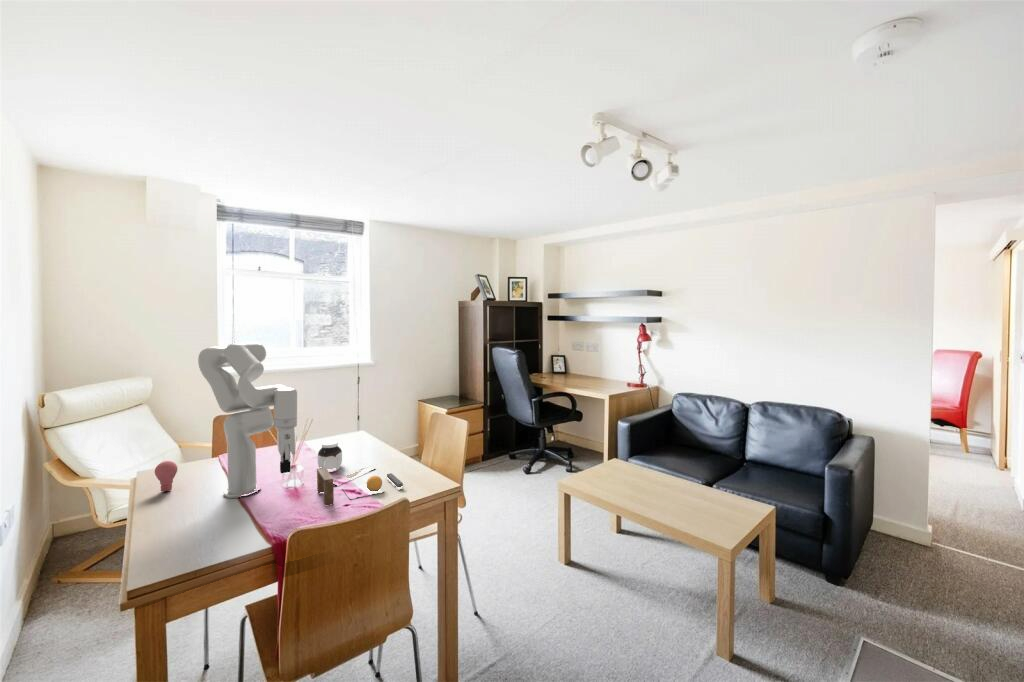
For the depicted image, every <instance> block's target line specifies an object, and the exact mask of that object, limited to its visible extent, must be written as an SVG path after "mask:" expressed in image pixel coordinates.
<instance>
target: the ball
mask: <svg viewBox="0 0 1024 682" xmlns="http://www.w3.org/2000/svg"><path fill="white" fill-rule="evenodd" d="M366 484H367V488H368V489H369V490H370V491H378V490H379V489H381V488H382V487H383V480H382V478H381V477H380V476H379V475H372V476H370V477H369V478H368V479H367V481H366Z"/></svg>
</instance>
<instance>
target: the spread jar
mask: <svg viewBox="0 0 1024 682" xmlns="http://www.w3.org/2000/svg"><path fill="white" fill-rule="evenodd" d="M342 462H343V451H342V448H341V447H339V442H338V441H337V440H328V441H324V442H322V443H321V448H320V449H319V450H318V452H317V466H318V467H319V468H320V467H322V468H324V467H325V468H326V469H333V468H336V469H338V470H339V469H340V466H341V465H342V464H343V463H342Z"/></svg>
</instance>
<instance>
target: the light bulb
mask: <svg viewBox="0 0 1024 682" xmlns="http://www.w3.org/2000/svg"><path fill="white" fill-rule="evenodd" d="M177 473H178V466H177V464H176V463H175V462H173V461H171V460H164V461H162V462H160V463H159V464H157V466H156V467H155V469H154V475H155V477H156V479H157V480H158V481H159V485H160V492H163V493H164V492H165V491H168V492H170V491H172V490H173V483H174V479H175V476H176V475H177ZM165 493H166V492H165Z"/></svg>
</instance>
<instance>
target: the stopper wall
mask: <svg viewBox="0 0 1024 682" xmlns="http://www.w3.org/2000/svg"><path fill="white" fill-rule="evenodd" d="M387 477H388V478H389V479H390V480H391V481H392V482H393V483H394V484H395V485H396V486H397V487H401V486H403V487H404V483H403V482H402V481H401V480H400V479H399V478H397V476H396V475H394V474H393V473H387V474H386V478H387Z"/></svg>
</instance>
